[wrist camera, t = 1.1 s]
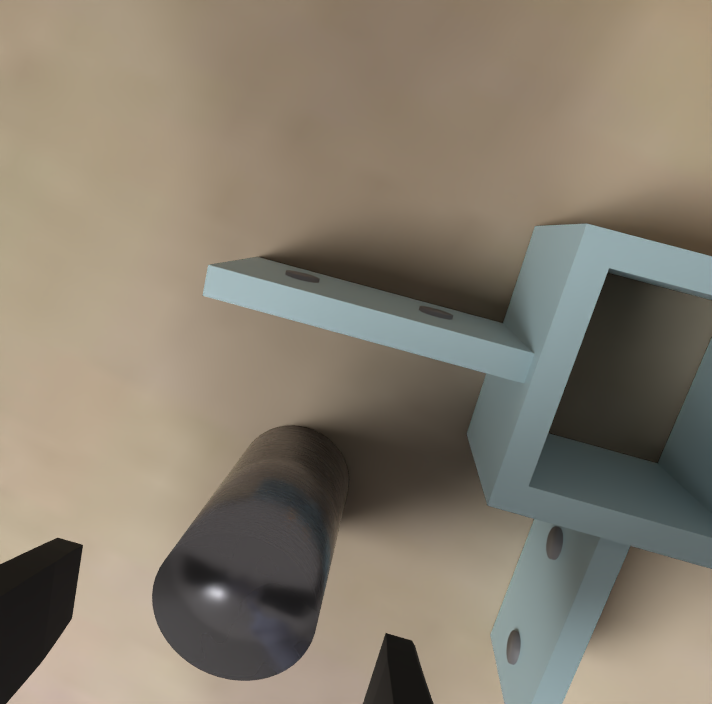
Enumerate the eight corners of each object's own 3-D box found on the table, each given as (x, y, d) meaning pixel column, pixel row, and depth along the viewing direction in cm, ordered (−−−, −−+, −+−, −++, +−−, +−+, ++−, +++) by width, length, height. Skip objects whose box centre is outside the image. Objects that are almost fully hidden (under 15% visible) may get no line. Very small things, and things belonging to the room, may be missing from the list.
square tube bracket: (594, 665, 20) (655, 804, 15) (195, 549, 20) (129, 647, 16) (762, 285, 17) (909, 308, 12) (277, 158, 17) (226, 129, 12)
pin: (333, 540, 20) (295, 699, 13) (231, 510, 20) (140, 653, 13) (361, 442, 19) (335, 561, 12) (253, 412, 19) (167, 512, 12)
